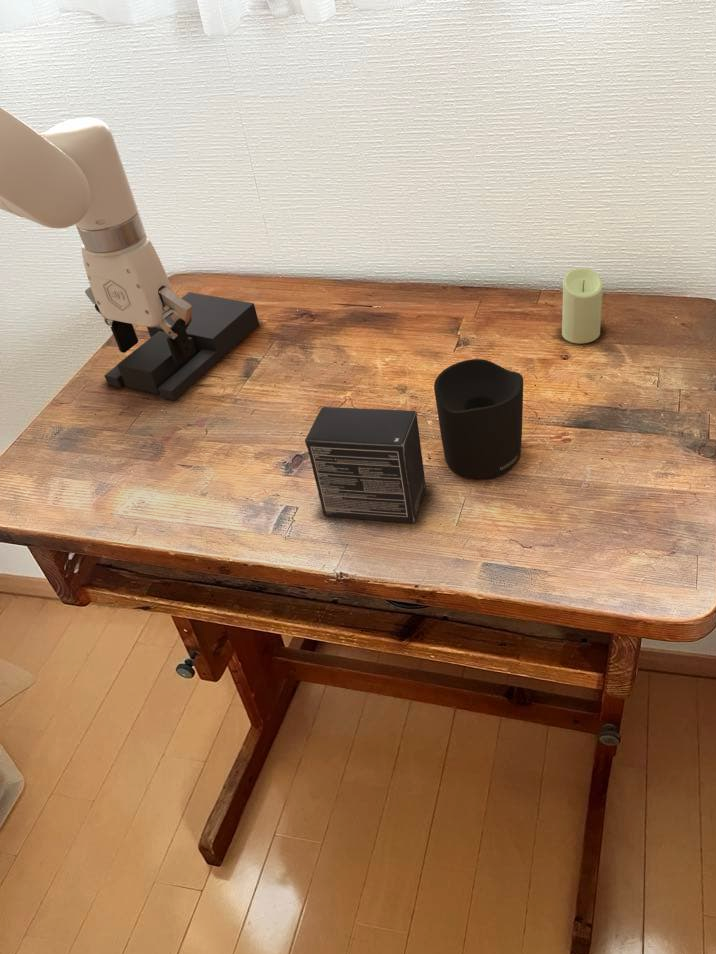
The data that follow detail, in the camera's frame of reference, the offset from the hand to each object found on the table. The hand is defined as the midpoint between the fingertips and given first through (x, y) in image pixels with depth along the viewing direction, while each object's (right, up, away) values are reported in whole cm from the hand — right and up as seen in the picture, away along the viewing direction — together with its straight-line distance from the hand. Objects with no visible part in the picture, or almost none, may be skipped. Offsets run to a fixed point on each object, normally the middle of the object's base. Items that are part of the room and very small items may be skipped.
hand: (156, 353), depth 113 cm
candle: (+57, +2, -2) cm, 57 cm away
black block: (0, -2, +2) cm, 3 cm away
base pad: (+3, +1, +5) cm, 6 cm away
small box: (+31, -21, -22) cm, 43 cm away
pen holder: (+43, -16, -18) cm, 49 cm away
